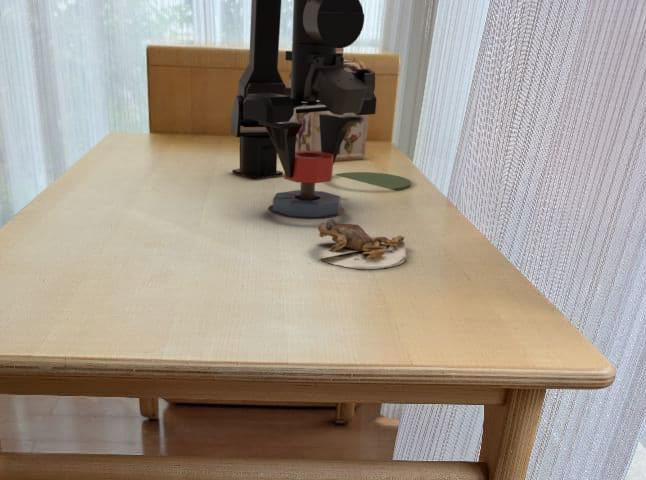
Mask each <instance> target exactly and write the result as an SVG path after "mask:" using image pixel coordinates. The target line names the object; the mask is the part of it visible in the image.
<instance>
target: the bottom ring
mask: <svg viewBox="0 0 646 480" xmlns="http://www.w3.org/2000/svg"><path fill="white" fill-rule="evenodd" d="M341 200H342V196H340V195H338V194H333V193H330V192H327V191H321V190H315V195H314V200H312V201H309V200H300V189H295V190H288V191H281V192H276V193H275V195H274V196H273V198H272V205H273V211H276V212H279V213H282V214H285V215H288V216H296V217H314V218H318V217H324V216H330V215H336V214H338V213H339V209H340V207H341Z"/></svg>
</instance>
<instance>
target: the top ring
mask: <svg viewBox="0 0 646 480" xmlns="http://www.w3.org/2000/svg"><path fill="white" fill-rule="evenodd" d="M333 155H334V154H330V153H326V152H322V151H304V150H303V151H295V166H294V173H293V177H292V178H289V177H286V175H285V173H283V177H284V178H283V179H284V180H287V181H291V182H293V183H300V184H301V183H315V184H321V183H328V182H331V181H332V178H333V171H334V169H333V168H334V164H333Z"/></svg>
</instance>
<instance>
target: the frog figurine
mask: <svg viewBox="0 0 646 480" xmlns="http://www.w3.org/2000/svg"><path fill="white" fill-rule="evenodd" d="M317 230H318V232H319V234H318V236H319V237H320V238H323V237H328V236H329V237H331V241H332V242H334V243H335V244H332V245H331V247H330V248H328V249H327V252H332V253H336V252H339V250H342V249H343V248H345V249H349V250H353V251H351V252H347V253H342V254H336V255H332V256H331V255H330V256H327V257H322V258H321V257H320V258H319V260H320V261H322V262H325V263H327V264H329V265H335V266H341V267H345V268H350V269H355V270H356V269H357V270H378V269H381V270H382V269H385V268H392V267H396V266H400V265H402V264H404V263H405V262H406V259H407V257H408V253H407V250H408V249H407V248H406V245H405V241H404V239H405V237H404V236H403V235H397V236H396V237H392V239H389V238H388V237H386V236H370V235H369V234H368V233H367V232H366V231H365V230H364V228H363V227H361V226H360V225H359V224H355V223H341V222H340V223H338V222H336V220H335V219H333V218H329V219H328V220H327V222H323V223H320V224H319V225H318V226H317ZM381 244H385V245H381Z"/></svg>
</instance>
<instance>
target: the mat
mask: <svg viewBox="0 0 646 480" xmlns="http://www.w3.org/2000/svg"><path fill="white" fill-rule="evenodd" d="M333 175H334V176H338V177H341V178H344V179H348V180H353V181H357V182H360V183H364V184H369V185H372V186H376V187H380V188H384V189H388V190H391V191H396V192H397V191H402V190H406V189H408V188H409V187H411V180H410V179H408V178H405V177H403V176H400V175H395V174H390V173H382V172H372V171H371V172H368V171H353V172H352V171H350V172H349V171H348V172H339V173H334V174H333Z"/></svg>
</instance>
